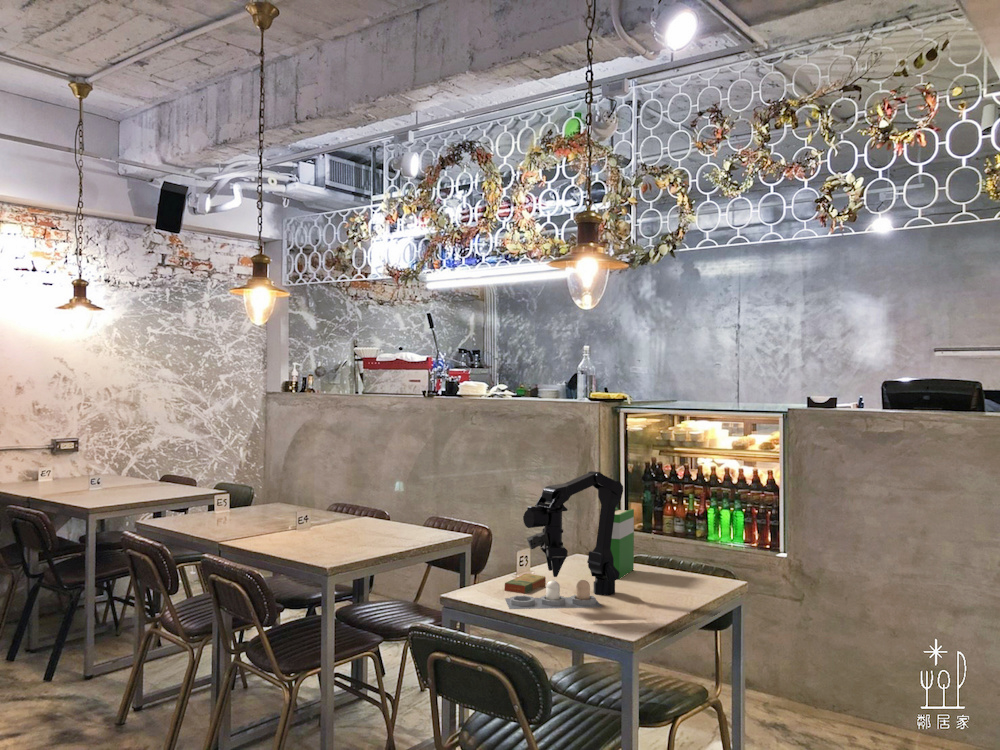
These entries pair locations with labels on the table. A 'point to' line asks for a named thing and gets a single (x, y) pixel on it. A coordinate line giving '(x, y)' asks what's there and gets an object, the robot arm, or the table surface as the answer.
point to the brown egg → (583, 590)
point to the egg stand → (550, 602)
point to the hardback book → (623, 541)
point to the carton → (525, 583)
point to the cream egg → (552, 590)
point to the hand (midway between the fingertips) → (552, 573)
